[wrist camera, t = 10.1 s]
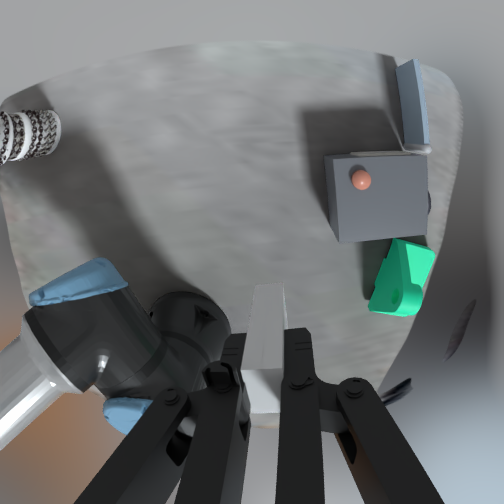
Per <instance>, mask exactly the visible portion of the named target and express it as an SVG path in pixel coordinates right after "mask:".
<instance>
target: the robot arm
mask: <svg viewBox="0 0 504 504" xmlns="http://www.w3.org/2000/svg"><path fill="white" fill-rule="evenodd" d="M128 285H129V284H128V282H127V281H124V280H123V278H122V277H121V275H120V274H119V273H118V271H117V270H116V268H115V267H114V265H113V264H112V263H111V262H110V261H109V260H108V259H106V258H102V257H98V258H94V259H92V260H90V261H88V262H86V263H84V264H82V265H80V266H78V267H76V268H75V269H73V270H71V271H69V272H67V273H65V274H63V275H62V276H60V277H58V278H56V279H54V280H53V281H51V282H49V283H47V284H46V285H44V286H42V287H40V288H39V289H37V290H35V291H33V292H32V293H30V294H29V303H30V305H31V306H33V307H32V308H31V309H30V310H29V311H27V312H26V313H25V314H24V315H23V316H22V317H23V318H22V329H21V333H20V335H19V336H18V337H16V339H14V340H13V341H12V342H11V343H10V344H9V345H7V346H6V347H5V348H4V349H3V350H2V351H1V352H0V450H2V449H3V448H4V447H5V446H6V445H7V444H8V443H9V442H10V441H11V440H12V439H13V438H14V437H16V436H17V435H18V434H19V433H20V432H21V431H22V430H23V429H24V428H26V427H27V426H28V425H29V424H30V423H31V422H32V421H33V420H34V419H35V418H37V416H39V415H40V414H41V413H42V412H43V411H44V410H45V409H47V408H48V407H49V406H50V405H51V404H52V403H53V402H54V401H55V400H56V399H58V398H59V397H60V396H61V395H62V394H63V393H66V392H71V393H78V394H83V393H84V392H85V391H86V390H87V389H89V388H90V387H91V386H92V385H93V384H94V385H95V386H96V387H97V388H98V389H99V391H100V392H101V393H102V394H103V395H104V396H105V397H106V398H107V400H106V401H105V402H104V404H103V414H104V416H105V418H106V420H107V421H108V422H109V423H110V424H111V425H112V426H113V427H115V428H116V429H117V430H119V431H120V432H122V433H123V434H125V435H127V436H126V437H125V438H124V440H123V441H122V442H121V443H120V445H119V446H118V447H117V449H116V450H115V451H114V453H113V454H112V455H111V456H110V458H109V459H108V460H107V461H106V463H105V464H104V465H103V467H102V468H101V469H100V471H99V472H98V473H97V474H96V476H95V477H94V478H93V479H92V481H91V482H90V483H89V485H88V486H87V487H86V488H85V490H84V491H83V492H82V493H81V495H80V496H79V497H78V499H77V500H76V501H75V502H74V504H165V503H166V501H167V500H168V498H169V496H170V495H171V493H172V492H173V490H174V488H175V487H176V485H177V483H178V482H179V480H180V478H181V480H180V484H179V488H178V491H177V495H176V499H175V503H174V504H241V498H242V491H243V483H244V476H245V468H246V460H247V452H248V444H249V436H250V428H251V420H250V417H249V414H250V408H251V412H252V413H279V412H280V425H279V447H278V465H277V482H276V497H275V504H325V495H324V472H323V455H322V438H321V431H325V432H330V433H334V435H335V437H336V439H337V441H338V443H339V446H340V448H341V451H342V453H343V455H344V457H345V460H346V462H347V464H348V467H349V469H350V471H351V473H352V476H353V478H354V480H355V482H356V485H357V487H358V489H359V492H360V494H361V496H362V499H363V501H364V503H365V504H444V502H443V500H442V499H441V497H440V495H439V493H438V492H437V490H436V488H435V487H434V485H433V483H432V482H431V480H430V478H429V477H428V475H427V473H426V471H425V470H424V468H423V467H422V465H421V463H420V462H419V460H418V458H417V457H416V455H415V453H414V452H413V450H412V448H411V447H410V445H409V444H408V442H407V440H406V439H405V437H404V436H403V434H402V432H401V431H400V429H399V428H398V426H397V424H396V423H395V421H394V420H393V418H392V416H391V415H390V413H389V412H388V410H387V409H386V407H385V405H384V404H383V402H382V401H381V399H380V398H379V396H378V394H377V393H376V391H375V390H374V388H373V387H372V385H371V384H370V383H369V382H368V381H367V380H365V379H362V378H356V377H354V378H348V379H346V380H344V381H342V382H341V383H340V384H339V385H336V384H329V383H326V382H323V381H321V380H320V379H319V378H318V377H317V375H316V373H315V367H314V358H313V349H312V340H311V334H310V332H309V331H308V330H307V329H306V328H295V329H288V325H287V314H286V306H285V297H284V289H283V282H281V283H271V284H261V285H255V290H254V296H253V302H252V308H251V313H250V319H249V325H248V331H247V333H239V334H231V328H230V324H229V322H228V320H227V318H226V316H225V315H224V313H223V312H222V311H221V310H220V309H219V308H218V307H217V306H216V305H215V304H214V303H213V302H211V301H210V300H208V299H206V298H204V297H202V296H200V295H197V294H193V293H189V292H173V293H169V294H166V295H164V296H162V297H161V298H159V299H158V300H157V301H156V302H155V304H154V305H153V307H152V308H151V309H150V311H149V313H148V315H147V313H146V312H145V311H144V309H143V308H142V306H141V305H140V303H139V302H138V300H137V299H136V297H135V296H134V294H133V293H132V291H131V290H130V288H129V287H128ZM206 386H207V387H206Z"/></svg>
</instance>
